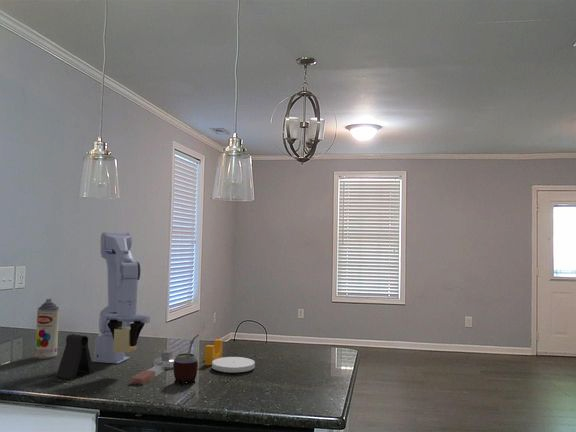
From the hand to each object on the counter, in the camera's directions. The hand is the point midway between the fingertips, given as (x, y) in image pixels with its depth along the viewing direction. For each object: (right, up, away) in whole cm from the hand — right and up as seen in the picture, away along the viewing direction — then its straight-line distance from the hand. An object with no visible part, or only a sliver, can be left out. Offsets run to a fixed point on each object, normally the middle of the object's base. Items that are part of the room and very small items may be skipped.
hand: (125, 345), depth 153 cm
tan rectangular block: (0, -2, 0) cm, 2 cm away
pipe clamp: (+24, -11, +19) cm, 32 cm away
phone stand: (-14, -9, -3) cm, 17 cm away
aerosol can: (-33, -9, +18) cm, 39 cm away
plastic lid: (+32, -11, +10) cm, 36 cm away
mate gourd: (+20, -9, -8) cm, 24 cm away
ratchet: (+9, -9, +2) cm, 13 cm away
